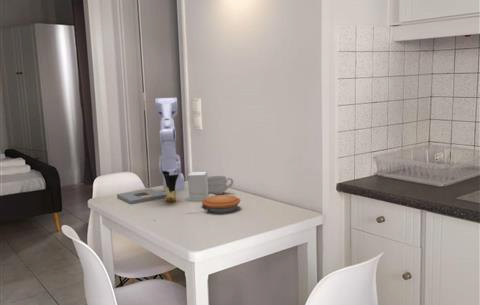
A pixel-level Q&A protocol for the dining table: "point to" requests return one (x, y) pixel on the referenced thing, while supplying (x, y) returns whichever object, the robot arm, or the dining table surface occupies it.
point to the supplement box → (198, 186)
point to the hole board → (141, 196)
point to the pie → (221, 203)
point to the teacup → (218, 184)
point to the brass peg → (170, 195)
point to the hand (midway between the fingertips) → (170, 189)
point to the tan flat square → (171, 202)
